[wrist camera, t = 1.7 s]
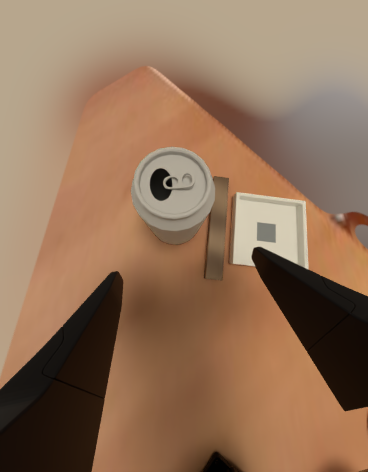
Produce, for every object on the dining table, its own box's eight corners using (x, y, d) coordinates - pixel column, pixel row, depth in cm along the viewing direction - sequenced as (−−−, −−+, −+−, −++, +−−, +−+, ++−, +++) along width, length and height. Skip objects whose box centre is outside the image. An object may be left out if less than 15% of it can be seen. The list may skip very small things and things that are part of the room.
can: (151, 200, 23) (124, 138, 12) (196, 198, 24) (215, 136, 12) (152, 246, 22) (123, 229, 10) (201, 243, 23) (226, 223, 11)
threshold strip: (219, 279, 22) (222, 280, 21) (204, 277, 22) (205, 278, 20) (226, 182, 25) (228, 178, 23) (212, 180, 25) (214, 176, 23)
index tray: (299, 271, 22) (308, 272, 21) (229, 263, 22) (232, 263, 21) (297, 205, 24) (305, 201, 23) (232, 196, 24) (236, 192, 23)
